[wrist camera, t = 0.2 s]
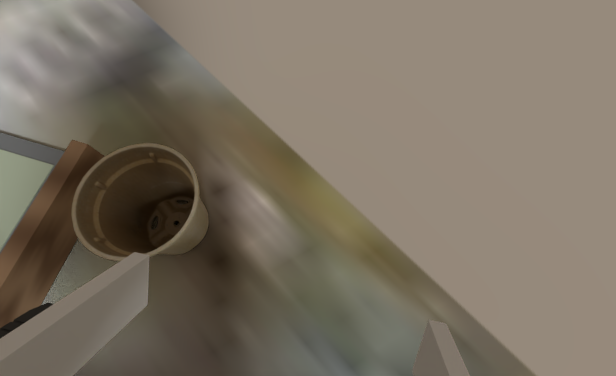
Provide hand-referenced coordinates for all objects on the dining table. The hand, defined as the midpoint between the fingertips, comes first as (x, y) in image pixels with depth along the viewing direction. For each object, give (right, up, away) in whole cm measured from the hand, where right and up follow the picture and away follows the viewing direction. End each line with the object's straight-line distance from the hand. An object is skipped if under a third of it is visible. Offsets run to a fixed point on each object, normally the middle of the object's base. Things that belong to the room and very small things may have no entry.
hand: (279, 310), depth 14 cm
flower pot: (-12, +2, +17) cm, 21 cm away
